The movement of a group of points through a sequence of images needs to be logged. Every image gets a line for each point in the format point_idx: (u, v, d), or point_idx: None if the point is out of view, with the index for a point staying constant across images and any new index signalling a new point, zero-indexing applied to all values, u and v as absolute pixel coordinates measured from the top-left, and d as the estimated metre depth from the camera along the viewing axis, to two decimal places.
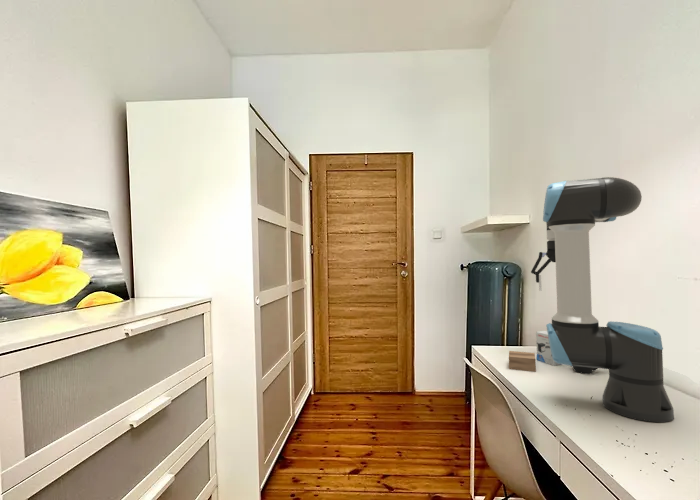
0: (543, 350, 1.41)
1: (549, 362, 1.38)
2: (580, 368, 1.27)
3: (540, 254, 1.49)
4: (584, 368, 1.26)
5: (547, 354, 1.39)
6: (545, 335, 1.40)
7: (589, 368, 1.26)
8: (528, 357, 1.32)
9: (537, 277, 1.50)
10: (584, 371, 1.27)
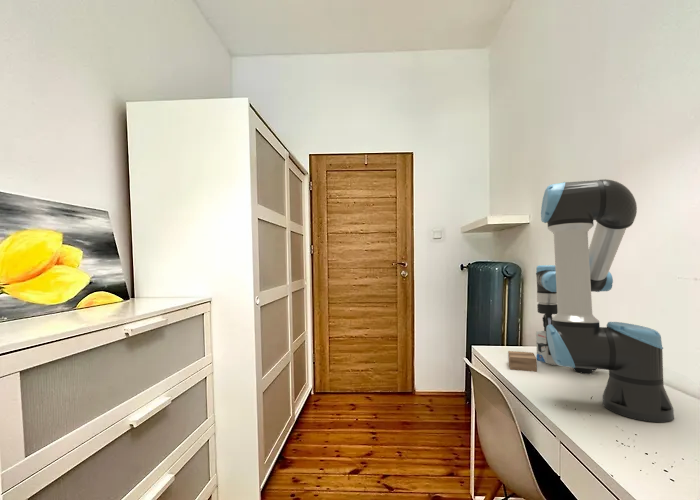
0: (543, 350, 1.41)
1: None
2: (580, 368, 1.27)
3: (543, 317, 1.48)
4: (584, 368, 1.26)
5: None
6: (545, 335, 1.40)
7: None
8: (529, 357, 1.32)
9: None
10: (584, 371, 1.27)
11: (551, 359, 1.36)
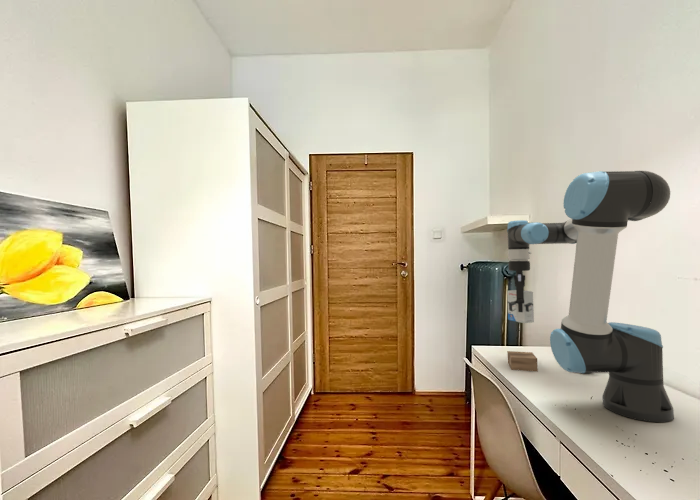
0: (514, 309, 1.36)
1: None
2: None
3: None
4: None
5: None
6: None
7: None
8: (529, 357, 1.32)
9: None
10: None
11: (521, 316, 1.31)
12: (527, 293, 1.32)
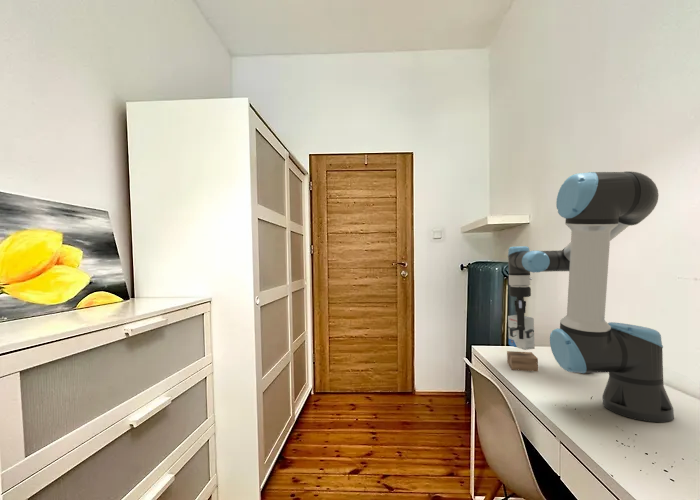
0: (515, 335, 1.36)
1: None
2: None
3: (516, 301, 1.42)
4: None
5: None
6: (516, 319, 1.35)
7: None
8: (530, 357, 1.32)
9: None
10: None
11: (522, 343, 1.31)
12: (528, 320, 1.32)
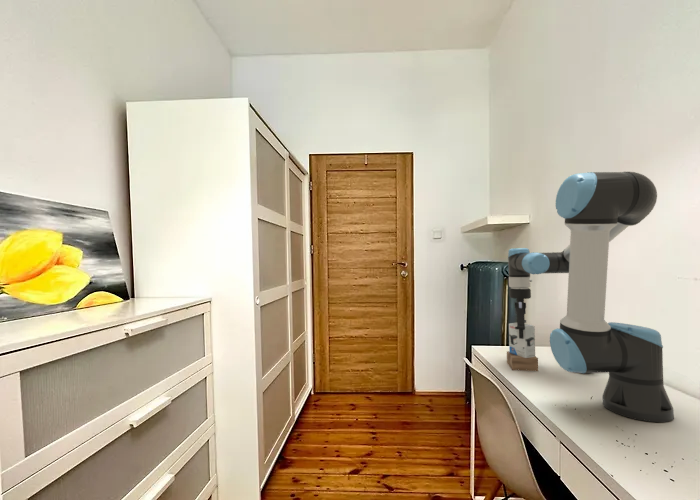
0: (515, 342, 1.35)
1: (521, 355, 1.33)
2: None
3: None
4: None
5: None
6: None
7: None
8: (530, 357, 1.32)
9: None
10: None
11: (522, 343, 1.29)
12: (529, 328, 1.32)
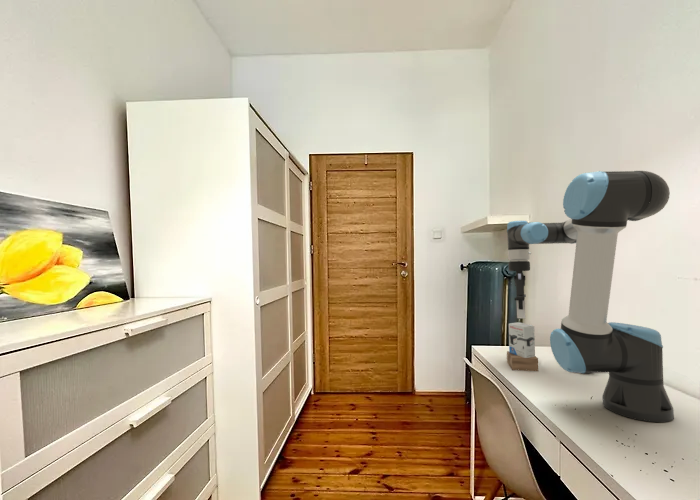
0: (515, 342, 1.35)
1: (521, 355, 1.33)
2: None
3: None
4: None
5: (518, 346, 1.34)
6: (517, 327, 1.35)
7: None
8: (530, 357, 1.32)
9: None
10: None
11: (522, 314, 1.29)
12: (528, 328, 1.32)
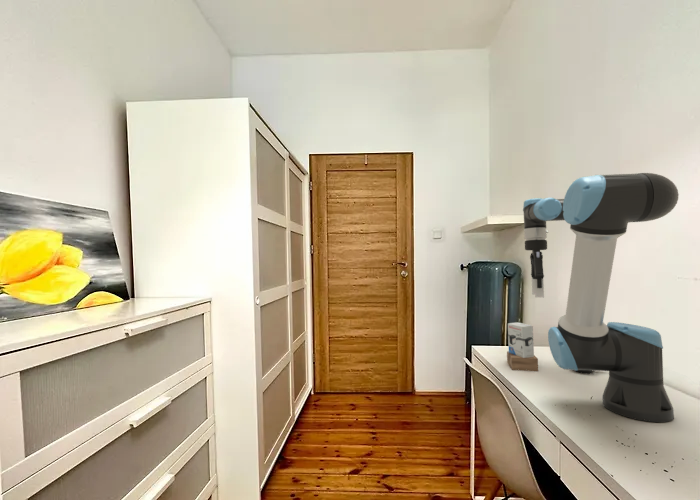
0: (514, 342, 1.36)
1: (519, 354, 1.33)
2: None
3: (531, 255, 1.40)
4: None
5: (517, 346, 1.34)
6: (515, 326, 1.35)
7: None
8: (530, 357, 1.32)
9: None
10: (584, 371, 1.27)
11: (540, 293, 1.26)
12: (527, 328, 1.32)
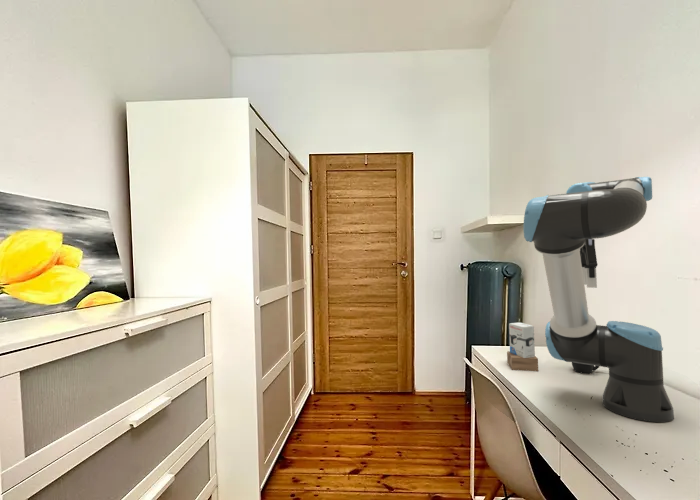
0: (515, 342, 1.36)
1: (520, 354, 1.33)
2: (580, 368, 1.27)
3: None
4: (584, 368, 1.26)
5: (518, 346, 1.34)
6: (516, 326, 1.35)
7: (589, 368, 1.26)
8: (530, 357, 1.32)
9: (581, 269, 1.32)
10: (584, 371, 1.27)
11: (593, 283, 1.18)
12: (527, 328, 1.32)
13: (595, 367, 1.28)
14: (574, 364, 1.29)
